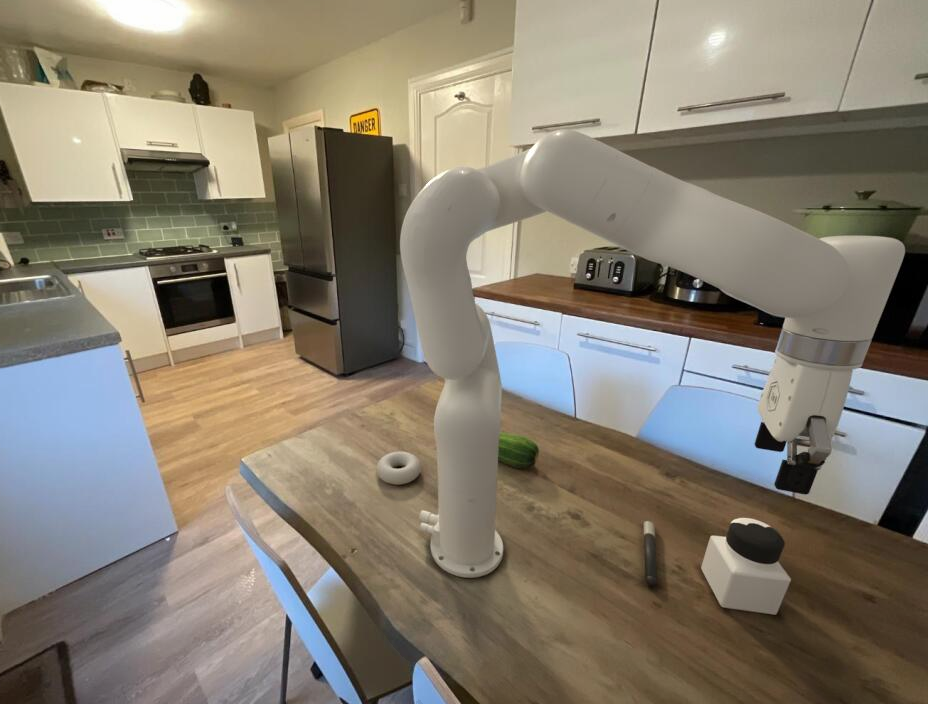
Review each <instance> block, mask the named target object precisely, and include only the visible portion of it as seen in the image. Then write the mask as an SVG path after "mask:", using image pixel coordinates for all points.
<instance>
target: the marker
mask: <svg viewBox="0 0 928 704" xmlns="http://www.w3.org/2000/svg"><path fill="white" fill-rule="evenodd" d="M643 546H644V548H643V549H644V550H643V551H644V576H645V577H644V578H645V580H644V581H645V583H646V584H647V585H648V586H649V587H656V586H657V585H658V572H657V570H658V569H657V556H656V530H655V524H654V523H653V522H652V521H649V520H646V521H644V522H643Z"/></svg>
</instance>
